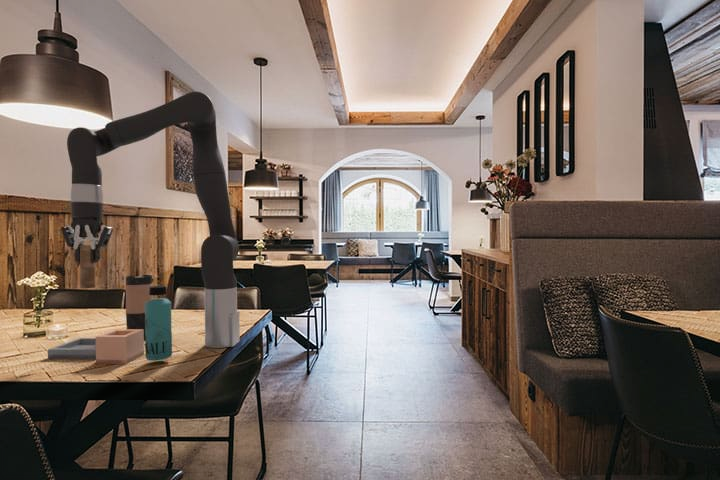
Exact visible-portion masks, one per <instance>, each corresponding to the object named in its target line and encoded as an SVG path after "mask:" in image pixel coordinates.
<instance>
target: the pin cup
mask: <svg viewBox="0 0 720 480" xmlns="http://www.w3.org/2000/svg"><path fill="white" fill-rule="evenodd" d="M95 338H96V359H95V364H97V365H102V364H103V365H104V364H105V365H106V364H109V365H111V364H113V365H118V364H119V365H122V364H123V365H125V364H129V363H130V362H133V361H134V360H136V359H138V358H140V357H142V356H144V355H145V340H144V329H127V328H125V329H123V328H122V329H120V328H118V329H113V330H109V331H107V332H104V333H102V334H98V335H97V336H95Z"/></svg>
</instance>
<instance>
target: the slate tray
mask: <svg viewBox="0 0 720 480" xmlns="http://www.w3.org/2000/svg"><path fill="white" fill-rule="evenodd" d="M47 359H48V360H49V359H50V360H52V359H54V360H57V359H58V360H62V359H68V360H72V359H74V360H75V359H76V360H83V359H84V360H89V359H90V360H92V359H93V360H96V337H79V338H76V339H73V340H70V341H68V342H65V343H61V344H59V345H56V346H53V347H51V348H48V349H47Z"/></svg>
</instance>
